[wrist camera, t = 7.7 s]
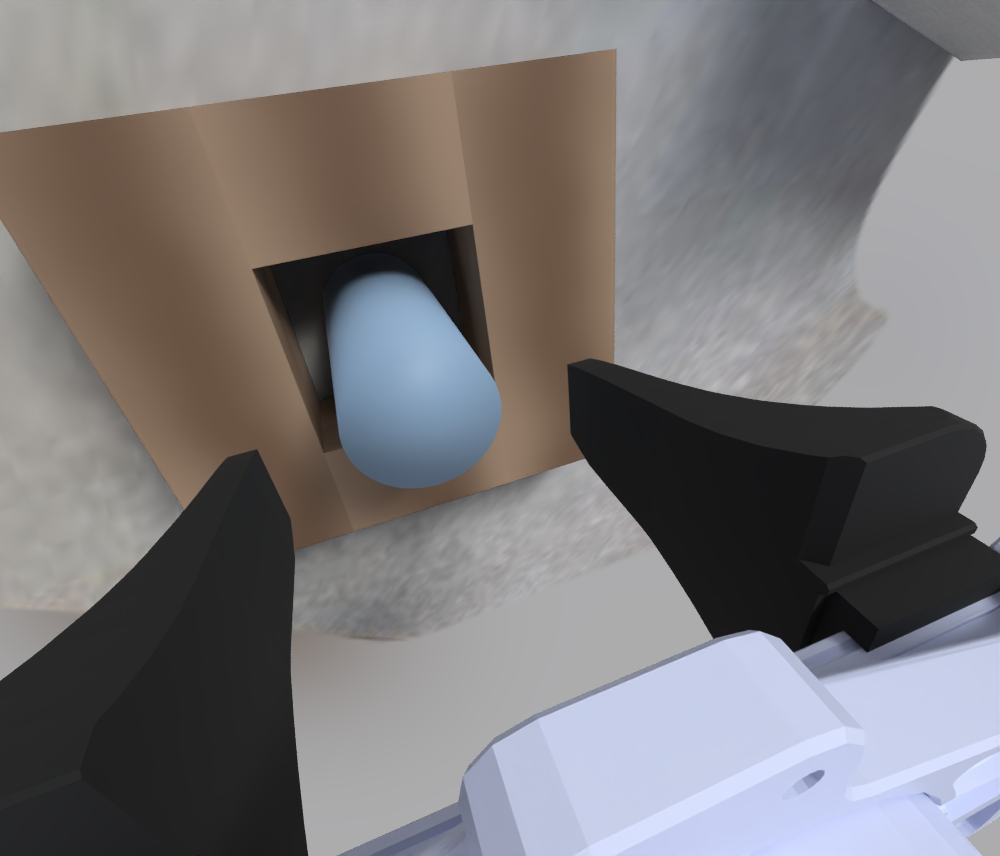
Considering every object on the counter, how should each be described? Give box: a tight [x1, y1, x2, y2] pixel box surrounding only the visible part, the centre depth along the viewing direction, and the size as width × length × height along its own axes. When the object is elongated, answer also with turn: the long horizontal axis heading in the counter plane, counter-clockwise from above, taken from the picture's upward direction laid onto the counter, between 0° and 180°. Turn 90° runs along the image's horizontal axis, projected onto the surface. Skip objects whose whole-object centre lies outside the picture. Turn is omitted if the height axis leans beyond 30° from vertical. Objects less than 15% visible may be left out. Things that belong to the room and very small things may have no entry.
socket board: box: [0, 49, 616, 550], centre depth 18 cm, size 16×14×4 cm
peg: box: [323, 253, 502, 489], centre depth 16 cm, size 4×4×9 cm
